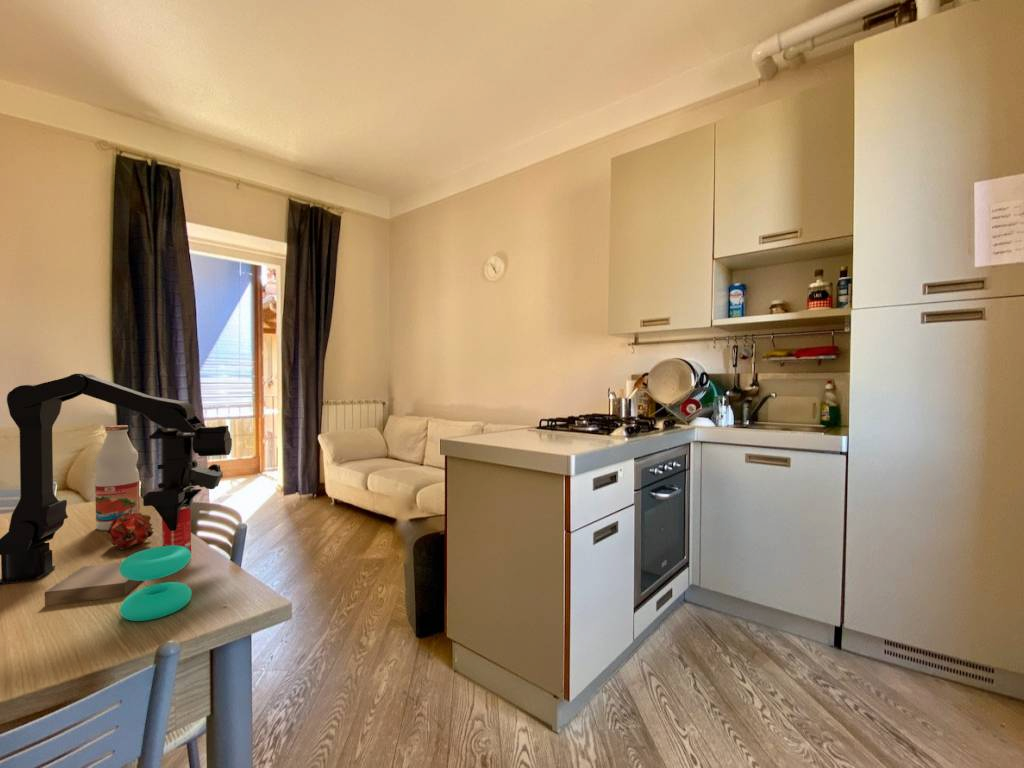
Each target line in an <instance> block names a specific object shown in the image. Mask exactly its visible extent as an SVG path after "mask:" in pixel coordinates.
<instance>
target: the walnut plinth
mask: <svg viewBox="0 0 1024 768" xmlns="http://www.w3.org/2000/svg"><path fill="white" fill-rule="evenodd" d="M122 562H123V561H122ZM122 562H114V563H113V562H112V563H103V564H102V563H101V564H95V565H94V564H93V565H83V566H82V567H81V568H79V569H77V570H76V571H75V572H73V573H71V574H70V575H68V576H66V577H64V579H62V580H61V581H59V582H57V583H55V585H53V586H52V587H50V588H49V589H47V590H45V591H44V606H45V607H46V606H55V605H64V604H70V603H79V602H86V601H93V600H94V601H95V600H103V599H112V598H117V597H118V598H119V597H125V596H127V595H128V594H129V593H130V592H131V591H132V590H133V589H135V588H136V587H137V586H138V585H140V583H141V582H142V581H136V580H130V579H127V578H125V577H123V576H122V575H121V573H120V570H119V568H120V565H121V563H122Z"/></svg>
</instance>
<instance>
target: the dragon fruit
mask: <svg viewBox="0 0 1024 768" xmlns="http://www.w3.org/2000/svg"><path fill="white" fill-rule="evenodd" d="M150 520H151V516H150V515H149V514H143V513H142V512H141V511H140V512H135V513H132V514H130V513H125V514H123V515H122V517H121V518H119V519H115V520H114V521H113V522H112V523H111V524H110V528H109V530H107V532H106V537H107V538H108V539H110V541H111V543H112V544H113V546H115V545H116V547H117V548H119V550H126V549H129V548H131V547H132V546H133V545H135V546H136V545H141V544H143V543H145V541H146V540H148V538H150V537H152V536H153V534H154V533H155V531H154V530H153V529H154V527H153V524H152V523H151V522H150Z"/></svg>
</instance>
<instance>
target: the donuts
mask: <svg viewBox="0 0 1024 768" xmlns="http://www.w3.org/2000/svg"><path fill="white" fill-rule="evenodd" d="M191 558H192V551H191V552H190V550H189V549H187V548H186V547H183V546H175V545H171V546H155V547H152V548H147V549H144V550H141V551H137V552H134V553H133V554H131V555H129V556H127V557H125V559H124V560H123V561H122V563H121V565H120V568H119V570H120V573H121V575H122V576H123V577H125V578H127V579H130V580H136V581H141V582H142V581H152V580H157V579H161V578H165V577H167V576H170V575H173V574H176V573H177V572H179V571H181V570H182V569H184V568H185V567H186V566H187V565H188V564H189V562H190V561H191ZM192 593H193V592H192V590H191V587H190V586H189V585H187V584H185V583H182V582H178V581H167V582H166V581H165V582H159V583H155V584H152V585H148V586H146V587H143V588H140V589H138V590H136V591H134V592H133V593H131V594H130V595H129V596H127V597H126V598H125V599H124V601H123V602H122V603H121V605H120V608H119V612H120V615H121V616H122V618H124V619H125V620H128V621H130V622H131V621H133V622H143V621H145V622H146V621H152V620H157V619H160V618H163V617H166V616H169V615H172V614H173V613H176V612H178V611H179V610H181V609H183V608H184V607H185V606H187V604H188V603H189V602H190V600H191V598H192V595H193V594H192Z"/></svg>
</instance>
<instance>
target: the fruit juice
mask: <svg viewBox="0 0 1024 768" xmlns="http://www.w3.org/2000/svg"><path fill="white" fill-rule="evenodd" d="M104 430H105V433H106V436H105V439H104V442H103V444H102V446H101V448H100V450H99V451H98V452H97V454H96V455H95V463H96V467H97V472H96V474H95V480H94V483H95V484H94V487H95V492H94V493H95V494H94V495H95V496H94V497H95V526H96V529H97V530H99V531H108V530H109V528H110V524H111V523H112V522H113V521H114V520H115V519H119V518H121V517H122V515H123V514H125V513H130V514H132V513H135V512H140V513H141V509H140V508H141V501H140V500H141V499H140V497H141V496H140V473H139V472H140V471H139V469H138V467H137V463H138V461H139V452H138V450H137V449H136V448H135V447H134V446H133V444H132V442H131V440H130V438H129V436H128V432H129V425H126V424H122V425H121V424H120V425H119V424H118V425H117V424H116V425H108V426H105V429H104Z"/></svg>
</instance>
